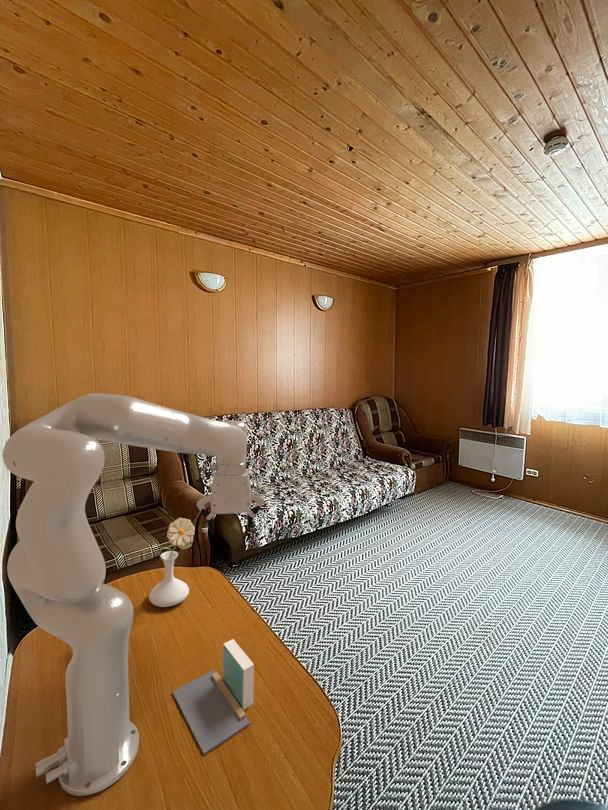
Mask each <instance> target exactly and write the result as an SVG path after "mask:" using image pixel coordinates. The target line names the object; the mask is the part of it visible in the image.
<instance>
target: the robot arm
mask: <svg viewBox="0 0 608 810" xmlns="http://www.w3.org/2000/svg"><path fill="white" fill-rule="evenodd" d="M247 428H248V427H247V424H246V423H245V422H244V421H242V420H234V419H233V420H222V421H218V420H215V419H210V418H207V417H202V416H200V415H196V414H192V413H189V412H184V411H180V410H176V409H173V408H169V407H167V406H163V405H159V404H156V403H154V402H150V401H147V400H143V399H141V398H140V399H139V398H136V397H133V396H129V395H123V394H121V395H120V394H110V393H100V392H99V393H96V392H95V393H93V392H92V393H89V394H84V395H81V396H79V397H77V398H75V399H73V400H71V401H69V402H67V403H65V404H63V405H61V406H59V407H58V408H56V409H54V410H52V411H50V412H49V413H47V414H45V415H43V416H41V417H38V418H37V419H36V420H34V421H31V422H30V423H28V424H26V425H24V426H22V427H21V428H19V429H18V430H16V431H15V432H14V433H13V434H12V435H11V436H10V437H9V438H8V439H7V441H6V442H5V444H4V447H3V449H2V454H1V455H2V460H3V464H4V466H5V467H6V469H7V470H8V471H9V472H11V474H13V475H15V476H16V477H19V478H21V479H24V480H28V481H31V482H32V484H31V485H30V486H29V489H28V490H27V492H26V494H25V496H24V498H23V501H22V502H21V504H20V506H19V508H18V512H17V515H16V520H15V528H16V533H17V534H16V535H17V537H18V539H19V541H18V542H17V543H16V544H15V546H14V547H13V549H12V550H11V552H10V554H9V556H8V560H7V569H6V570H7V576H8V579H9V582H10V584H11V586H12V587H13V590H14V591H15V593H16V594H17V597H18V598H19V599H20V601H21V603H22V605H23V606H24V609H25V610H26V612H27V613H28V615H29V616H30V618H31V619H32V620H33V622H34V623H35V624H36V625H37V626H38V627H39V628H40V629H42V630H43V631H45V632H46V633H49V634H51V635H53V636H54V637H56V638H58V639H60V641H62V642H64V643H66V644H68V645H69V646H70V648H71V650H72V657H71V659H70V661H69V663H68V665H67V666H66V670H65V671H66V672H65V692H66V693H65V696H66V697H65V698H66V714H67V715H66V717H67V720H66V721H67V737H65V738H64V740H63V741H64V746H62V747H60V748H58V749H57V752H56V753H54V754H52V755H50V756H49V757H48V756H47V757H45V758H42V759H41V760H39V761H37V762H35V776H36V777H35V778H39V777H40V776H42V775H44V774H45V782H46V783H45V784H46V785H48V784H49V783H51V782H53V781H55V780H56V779H57V778H58V782H59V785H60V787H61V788H62V790H64V792H66V793H67V794H69V795H72V796H78V797H82V796H90V795H93V794H97V793H100V792H101V791H104V790H105V789H106V788H108V787H110V786H112V785H113V784H114V783H116V782H117V781H119V780H120V778H122V776H123V775H125V773H126V772H128V769H129V768H130V767H131V766H132V764H133V762H134V760H135V759H136V756H137V753H138V751H139V747H140V746H139V745H140V734H139V730H138V728H137V726H136V725H135V723H133V722H132V721H131V720H130V684H129V683H130V681H129V680H130V679H129V678H130V677H129V642H130V634H131V629H132V625H133V619H134V606H133V603H132V601H131V600H130V598H129V597H128V596H127V595H126V593H125V592H124V593H123V591H121V590H119V589H117V588H115V587H113V586H111V585H107V584H105V583H104V582H105V578H106V571H107V567H106V562H105V558H104V555H103V553H102V551H101V548H100V547H99V545H98V542H97V539H96V538H95V535H94V533H93V530H92V528H91V527H90V524H89V521H88V518H87V514H86V503H87V500H88V497H89V495H90V493H91V491H92V489H93V488H94V486H95V484H96V483H97V481H98V480H99V477H100V476H101V474H102V472H103V470H104V466H105V457H106V456H105V451H104V449H103V446H102V444H101V443H100V442H99V441H104V442H111V443H115V444H120V445H128V446H132V447H133V446H134V447H140V448H147V449H153V450H154V449H155V450H159V451H164V452H165V451H166V452H172V453H181V454H196V455H204V456H205V455H206V456H209V457H210V456H212V457H216V462H215V463H212V464H210V470H214V471H215V472H214V474H213V478H212V481H211V494H209V495H207V496H205V497H204V498H201V499H199V500H198V501H197V502H196V507H197V508H198V510H199V511H200V513H201V514H202V516H204V517H205V518H206V520H207V531H210V533H209V534H210V535H211V536H212V535H214V528H215V527H214V523H215V521H214V517H215V515H220V514H221V515H225V514H226V515H228V514H243V513H247V515H246V516H247V517H246V520H247V522H246V526H247V529H246V531H247V532H248V533H251V529H252V528H254V518H255V516H256V515H257V513H259V512H260V511H261V508H262V507H263V505H264V502H265V500H264V498H263V497H261V496H258V495H256V494H254V493H252V491H251V490H252V486H251V478H250V474H249V472H248V471H247V445H248V438H247V435H248V432H247V431H248V429H247ZM98 440H99V441H98ZM252 501H255V502H256V504H255V506H253V508H252V507H251V505H252ZM208 503H210V509H209V510H208V509H207V508H206V507H205V505H206V504H208ZM57 766H58V767H57ZM55 767H57V768H55ZM53 768H54V769H53ZM51 769H52V770H51Z"/></svg>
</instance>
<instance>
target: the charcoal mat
mask: <svg viewBox="0 0 608 810" xmlns="http://www.w3.org/2000/svg"><path fill="white" fill-rule="evenodd" d="M172 694H173V695H172V696H173V697H174V699H175V700H176V703H177V705H178V707H179V709H180V711H181V713H182V715H183V717H184V718H185V720H186V723H187V724H188V727H189V728H190V731H191V732H192V734H193V736H194V738H195V741H196V742H197V744H198V746H199V748H200V750H201V752H202V754H203V756H206V755H207V754H208V753H210V752H212V750H214V749H215V748H217V747H218V746H220V745H222V744H223V743H225V742H226V741H228V740H230V739H231V738H232V737H233V736H235V735H236V734H238V733H240V732H241V731H243V730H244V729H246V728H247V727H249V725H251V722H250V720H249V719H248V717H247V716H246V713H245V711H244V710H243V709H242V708H241V707H240V705H239V704H238V702H237V701H236V699H235V698H234V696H233V695H232V694H231V692H230V691H229V689H228V688H227V686H226V685H225V683H224V682H223V678H222V677H221V675H220V674H219V673H218V671H216V670H215V669H212V670H211V671H209V672H207V673H205V674H202V676H199V677H198V678H195V679H194V680H192V681H190V682H188V683H186V684H184V685H181V686H180V687H179V688H176V689H175V690H173V691H172Z"/></svg>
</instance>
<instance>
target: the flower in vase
mask: <svg viewBox="0 0 608 810" xmlns="http://www.w3.org/2000/svg"><path fill="white" fill-rule="evenodd" d="M195 528H196V526H195V525H194V524H193V522H192V520H191V519H188V518H183V517H178V518H177V519H176V520H174V521H172V522H171V523H170V524H169V525H168V530H167V532H166V533H167V534H166V538H167V539H168V541H169V542H170V544H171V545H174V547H173V549H171V548H170V547H164V546H161V548H162V549H164V550H167V551H164V552H163V553H161V554H160V556H159V557H160V558H159V559H161V560H162V561H163V564H164V571H165V573H164V574H165V575H164V578H163V580H162V581H160V582H159V583H157V584H156V585H155V586H154V587H153V588H152V589H151V590H150V592H149V594H148V600H149V602H151V604H152V605H153V606H155V607H160V608H166V607H167V608H168V607H172V606H176V605H179V604H180V603H182V602H183V601H185V599H186V598H187V597H188V596H189V594H190V588H189V586H188V584H187V583H186V582H184V581H183V580H182V579H178V578H176V577H175V576H174V566H175V561H176V559H177V557H178V556H179V553H178V552H177V551H175V549H176V548H177V547H178V548H179V549H181V550H183V551H184V550H186V549H187V550H188V549H189V548H191V547H192V546H193V544H192V543H190V542H191V541H193V539H194V535H195V531H196V529H195Z"/></svg>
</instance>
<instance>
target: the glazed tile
mask: <svg viewBox="0 0 608 810" xmlns="http://www.w3.org/2000/svg"><path fill="white" fill-rule="evenodd" d="M254 677H255V664H254V663H253V661H252V660H251V659H250V657H249V656H248V655H247V654H246V653H245V651H244V650H243V649H242V648H241V646H240V645H239V643H237V642H236V640H235V639H234V638H232V639H230V640H228V641H226V642H224V643H223V646H222V680H223V682H224V683H225V685H226V686H227V688H228V689H229V691H230V692H231V694H232V695H233V696H234V698H235V699H236V701H237V702H238V704H239V705H240V707H241V708H242V710H243V711H244V710H246V709H248V708H249V707H250V706H253V704H254V691H255V690H254V688H255V687H254V685H255V683H254V682H255V678H254Z"/></svg>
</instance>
